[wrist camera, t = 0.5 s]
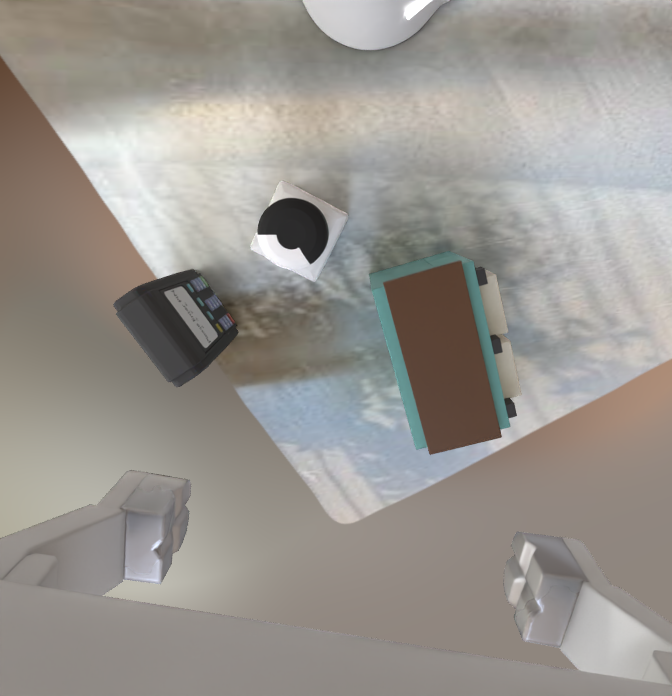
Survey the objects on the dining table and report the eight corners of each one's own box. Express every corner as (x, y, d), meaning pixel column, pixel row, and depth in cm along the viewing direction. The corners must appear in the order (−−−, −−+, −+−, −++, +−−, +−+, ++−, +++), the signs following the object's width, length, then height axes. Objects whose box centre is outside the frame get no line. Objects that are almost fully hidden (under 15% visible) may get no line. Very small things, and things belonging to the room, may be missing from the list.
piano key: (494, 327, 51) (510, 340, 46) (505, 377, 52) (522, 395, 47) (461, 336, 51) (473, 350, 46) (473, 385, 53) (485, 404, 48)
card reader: (246, 331, 57) (208, 371, 42) (219, 349, 57) (172, 395, 43) (198, 263, 55) (141, 282, 40) (170, 283, 56) (104, 308, 41)
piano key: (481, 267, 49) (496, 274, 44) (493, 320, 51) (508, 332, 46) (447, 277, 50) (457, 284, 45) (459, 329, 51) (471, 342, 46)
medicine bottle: (290, 183, 52) (270, 174, 41) (350, 215, 53) (347, 215, 41) (262, 244, 54) (235, 253, 42) (320, 274, 55) (310, 291, 43)
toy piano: (456, 245, 53) (483, 254, 41) (488, 386, 57) (522, 432, 45) (368, 270, 54) (370, 286, 42) (406, 408, 58) (418, 457, 46)
